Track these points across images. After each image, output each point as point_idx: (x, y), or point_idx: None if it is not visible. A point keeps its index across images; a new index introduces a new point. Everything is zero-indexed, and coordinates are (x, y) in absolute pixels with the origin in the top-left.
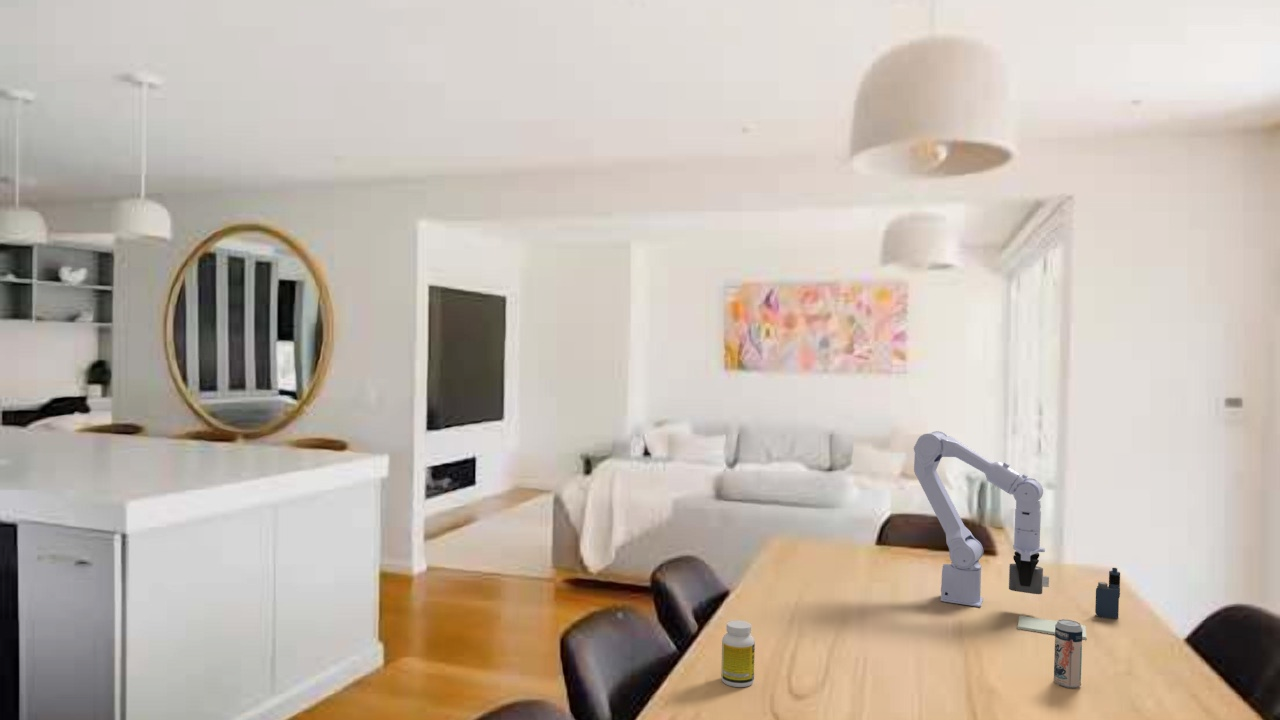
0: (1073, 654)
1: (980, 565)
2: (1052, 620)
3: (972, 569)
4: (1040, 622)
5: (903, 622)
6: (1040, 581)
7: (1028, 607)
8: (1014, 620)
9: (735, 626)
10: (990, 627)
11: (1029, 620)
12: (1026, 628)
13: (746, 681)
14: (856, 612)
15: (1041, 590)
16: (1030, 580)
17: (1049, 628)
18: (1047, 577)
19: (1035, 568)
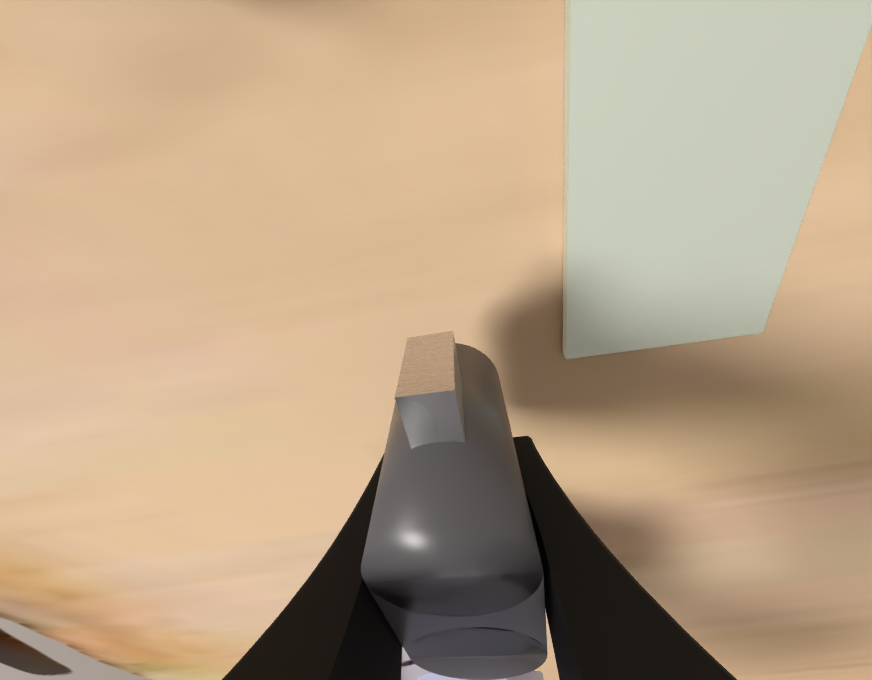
0: None
1: (433, 674)
2: (569, 212)
3: (530, 676)
4: (643, 259)
5: (787, 567)
6: (487, 415)
7: (361, 354)
8: (612, 361)
9: None
10: (762, 408)
11: (630, 310)
12: (772, 295)
13: None
14: (729, 626)
15: (464, 358)
16: (551, 476)
17: (753, 193)
18: (457, 401)
19: (487, 572)
